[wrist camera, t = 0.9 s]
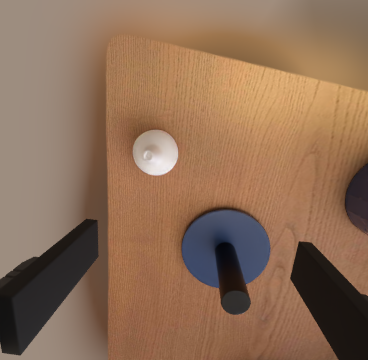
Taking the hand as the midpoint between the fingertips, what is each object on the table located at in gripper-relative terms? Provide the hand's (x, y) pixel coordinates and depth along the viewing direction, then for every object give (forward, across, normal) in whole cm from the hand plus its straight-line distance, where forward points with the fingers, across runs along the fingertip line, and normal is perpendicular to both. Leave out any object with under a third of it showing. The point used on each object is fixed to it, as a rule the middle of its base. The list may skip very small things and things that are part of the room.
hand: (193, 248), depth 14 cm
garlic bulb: (+19, -6, +4) cm, 20 cm away
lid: (+18, +5, -11) cm, 21 cm away
